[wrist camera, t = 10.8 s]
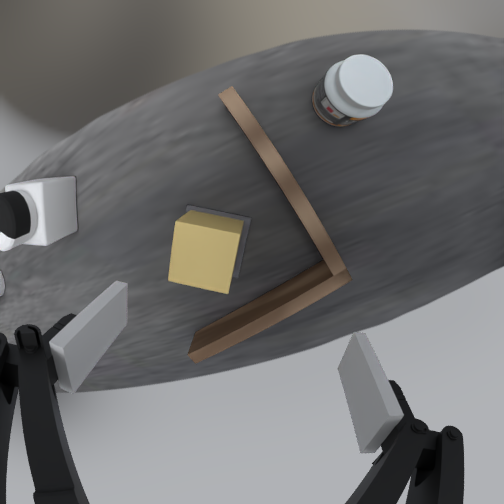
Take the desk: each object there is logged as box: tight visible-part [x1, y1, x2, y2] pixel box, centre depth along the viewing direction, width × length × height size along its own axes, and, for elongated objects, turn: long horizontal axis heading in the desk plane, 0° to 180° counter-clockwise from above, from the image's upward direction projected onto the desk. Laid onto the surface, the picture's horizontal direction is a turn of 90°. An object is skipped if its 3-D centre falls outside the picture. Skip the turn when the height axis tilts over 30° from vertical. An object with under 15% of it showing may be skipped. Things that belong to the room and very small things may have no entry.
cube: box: [168, 210, 244, 294], centre depth 30 cm, size 6×6×6 cm
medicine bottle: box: [0, 176, 78, 251], centre depth 26 cm, size 7×7×12 cm
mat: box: [186, 205, 251, 278], centre depth 33 cm, size 10×10×1 cm
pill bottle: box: [312, 55, 393, 126], centre depth 23 cm, size 6×6×10 cm
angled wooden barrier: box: [188, 86, 352, 364], centre depth 30 cm, size 22×20×5 cm
